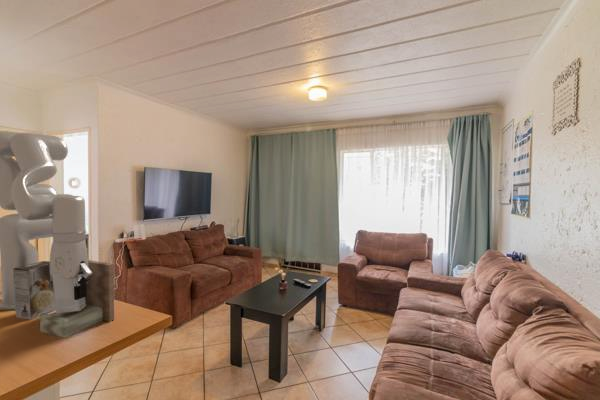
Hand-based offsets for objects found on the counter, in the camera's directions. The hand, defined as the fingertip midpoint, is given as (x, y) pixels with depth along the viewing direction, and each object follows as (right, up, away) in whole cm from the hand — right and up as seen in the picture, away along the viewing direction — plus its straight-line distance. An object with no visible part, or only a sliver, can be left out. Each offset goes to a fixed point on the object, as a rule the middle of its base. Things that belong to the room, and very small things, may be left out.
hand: (70, 295), depth 86 cm
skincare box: (0, -4, 0) cm, 4 cm away
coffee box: (-18, -9, +9) cm, 21 cm away
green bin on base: (-2, -9, +2) cm, 10 cm away
